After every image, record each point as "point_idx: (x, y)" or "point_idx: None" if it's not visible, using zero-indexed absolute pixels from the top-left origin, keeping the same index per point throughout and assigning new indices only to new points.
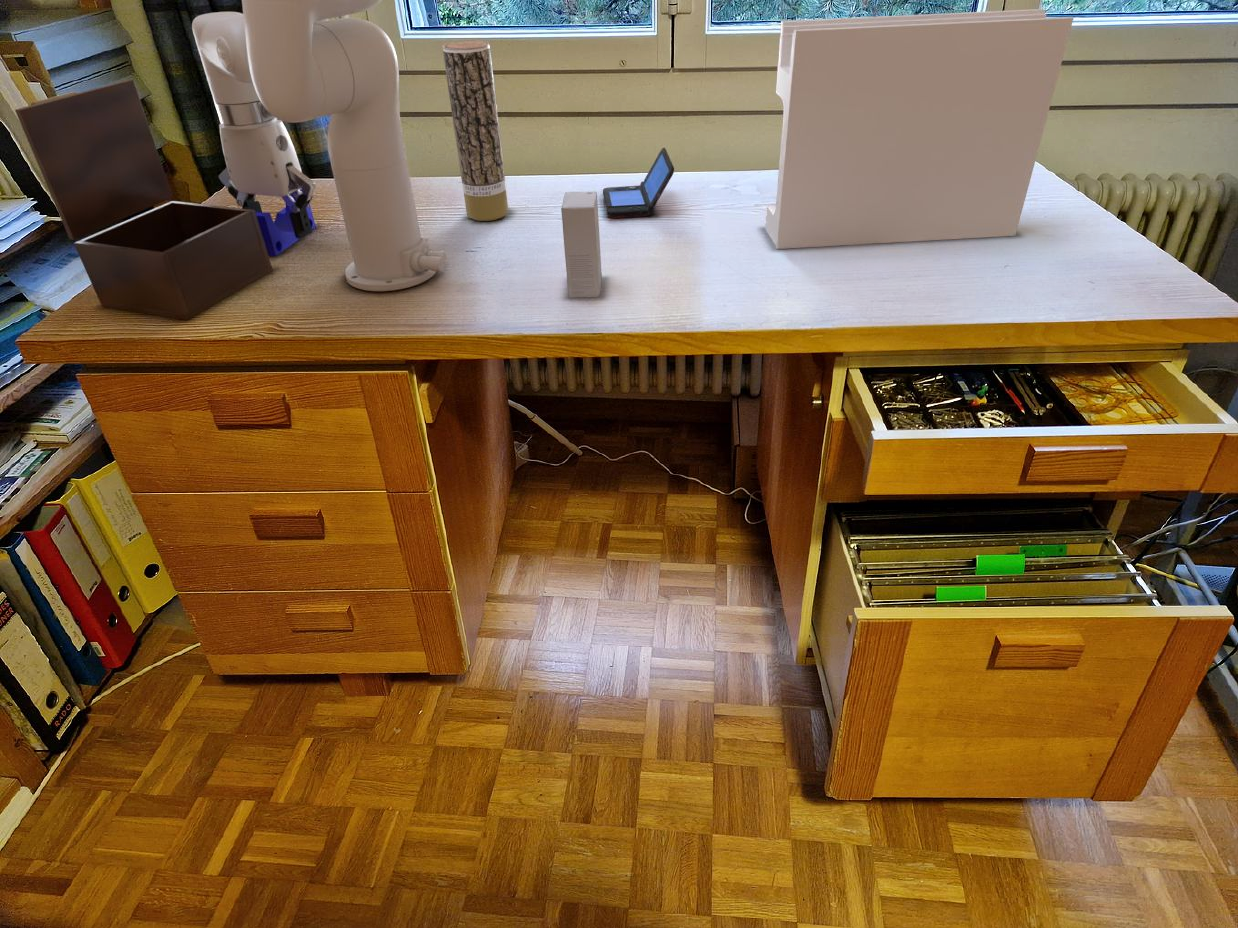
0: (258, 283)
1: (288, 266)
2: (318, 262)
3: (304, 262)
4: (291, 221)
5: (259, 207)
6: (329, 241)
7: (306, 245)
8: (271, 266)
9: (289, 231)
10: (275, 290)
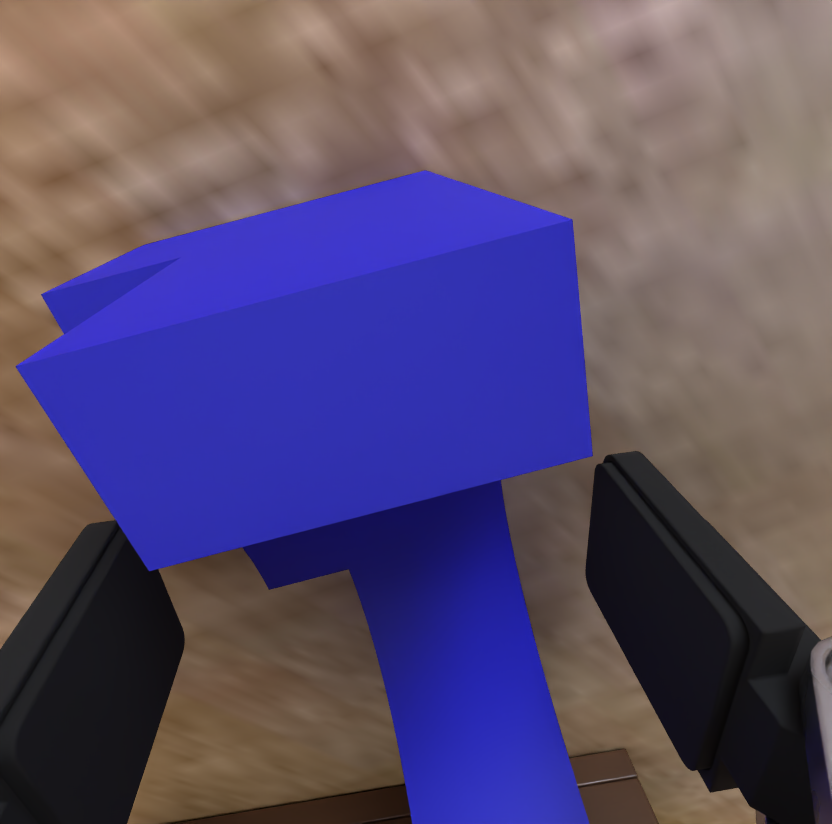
0: None
1: None
2: None
3: None
4: (654, 699)
5: (54, 705)
6: (733, 390)
7: None
8: (634, 770)
9: (471, 543)
10: (740, 814)
